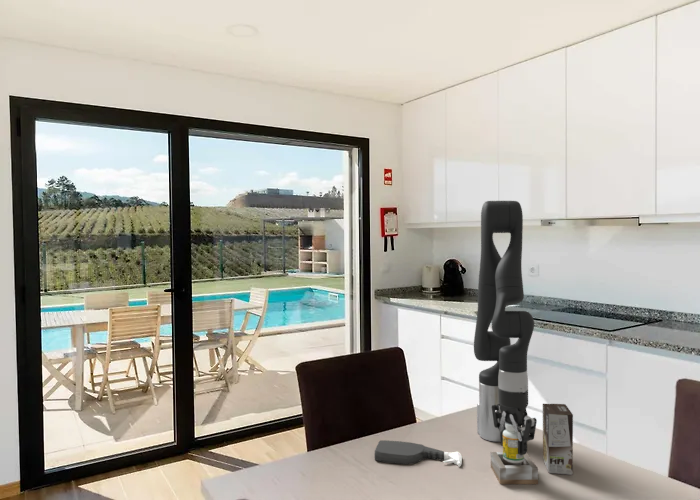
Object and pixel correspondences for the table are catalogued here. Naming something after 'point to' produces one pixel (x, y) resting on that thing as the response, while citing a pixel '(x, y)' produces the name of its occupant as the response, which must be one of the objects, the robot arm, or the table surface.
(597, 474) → the table surface
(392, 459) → the spray bottle
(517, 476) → the post socket
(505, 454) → the supplement bottle
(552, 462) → the coffee box
